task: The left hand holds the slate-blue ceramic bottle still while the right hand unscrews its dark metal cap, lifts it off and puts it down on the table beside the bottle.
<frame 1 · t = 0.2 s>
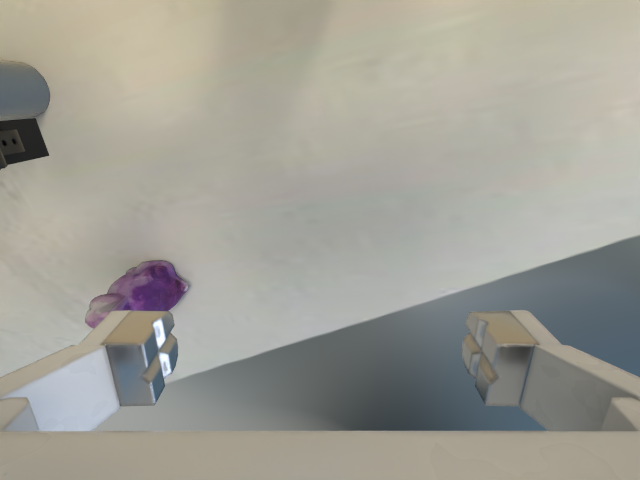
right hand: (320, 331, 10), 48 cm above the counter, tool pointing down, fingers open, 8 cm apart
figurine: (154, 282, 64), on the counter
bottle: (23, 89, 53), on the counter
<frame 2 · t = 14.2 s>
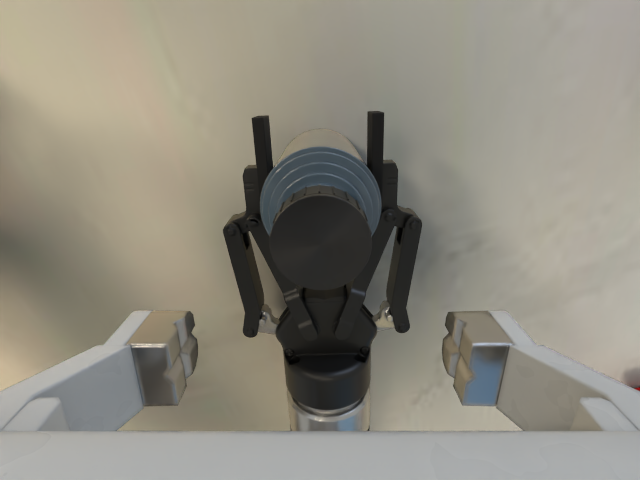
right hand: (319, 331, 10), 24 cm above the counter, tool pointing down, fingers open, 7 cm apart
left hand: (317, 114, 26), fingers closed on bottle, 7 cm apart
bottle: (320, 170, 33), on the counter, touching left hand
cap: (320, 242, 17), point 18 cm above the counter, screwed on, not yet turned
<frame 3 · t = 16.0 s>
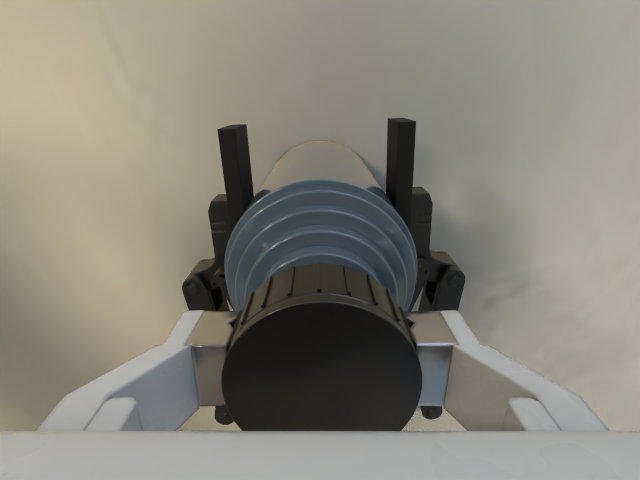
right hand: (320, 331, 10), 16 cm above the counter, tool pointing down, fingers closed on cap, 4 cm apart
bottle: (320, 194, 25), on the counter, touching left hand
cap: (321, 380, 9), point 18 cm above the counter, screwed on, not yet turned, touching right hand
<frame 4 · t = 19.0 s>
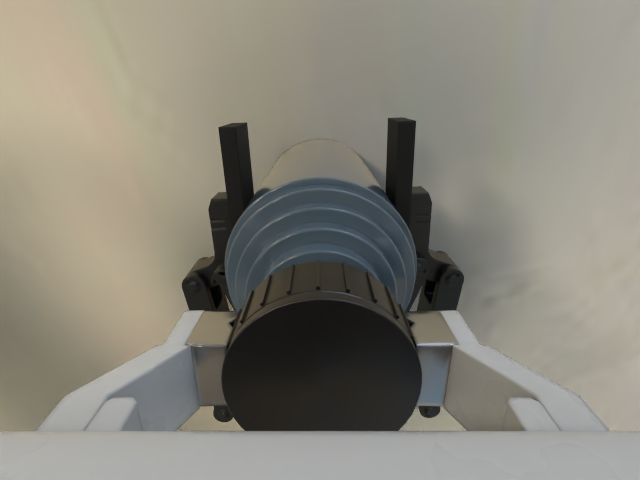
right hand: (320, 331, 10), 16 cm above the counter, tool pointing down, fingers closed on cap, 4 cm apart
bottle: (320, 193, 25), on the counter, touching left hand
cap: (321, 377, 9), point 18 cm above the counter, turned 83° so far, risen 0.1 cm, still on its thread, touching right hand
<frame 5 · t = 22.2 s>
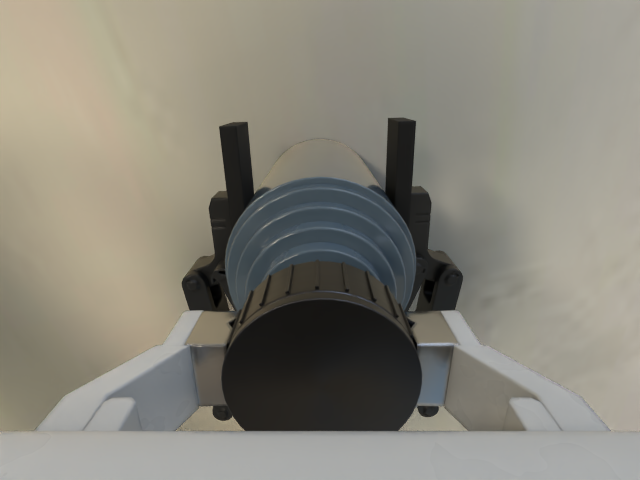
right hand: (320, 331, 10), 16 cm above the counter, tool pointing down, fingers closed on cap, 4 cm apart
bottle: (319, 192, 25), on the counter, touching left hand
cap: (321, 377, 9), point 18 cm above the counter, turned 166° so far, risen 0.1 cm, still on its thread, touching right hand
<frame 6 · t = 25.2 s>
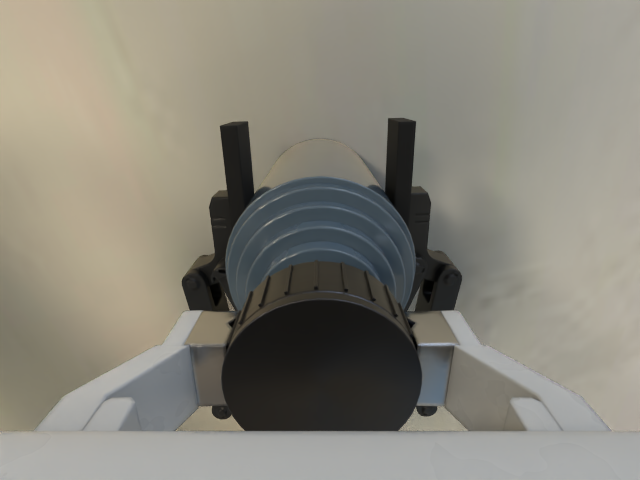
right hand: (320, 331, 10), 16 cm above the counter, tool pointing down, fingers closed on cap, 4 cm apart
bottle: (319, 192, 25), on the counter, touching left hand
cap: (321, 377, 9), point 18 cm above the counter, turned 248° so far, risen 0.2 cm, still on its thread, touching right hand
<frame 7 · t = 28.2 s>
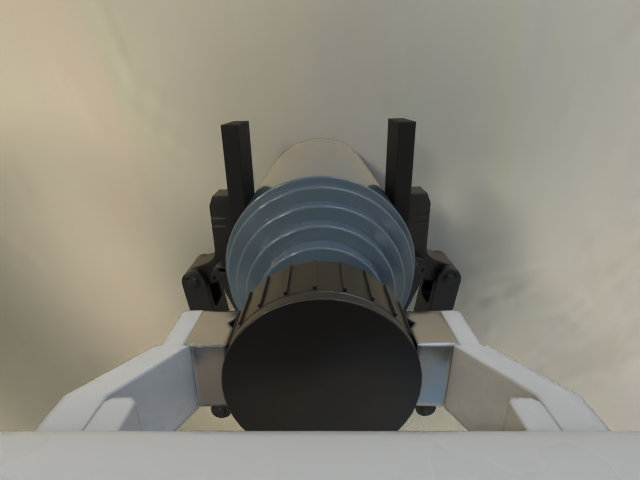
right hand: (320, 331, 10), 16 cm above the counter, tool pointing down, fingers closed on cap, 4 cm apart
bottle: (319, 192, 25), on the counter, touching left hand
cap: (321, 377, 9), point 18 cm above the counter, turned 331° so far, risen 0.3 cm, still on its thread, touching right hand
when the right hand's fingers open (2 cm above the counter, at t = 35.9 s): cap drops 2 cm, point 2 cm above the counter.
when the left hand's fingers open (6 cm above the counter, at t = 37.0 s): bottle stays where it is, on the counter.
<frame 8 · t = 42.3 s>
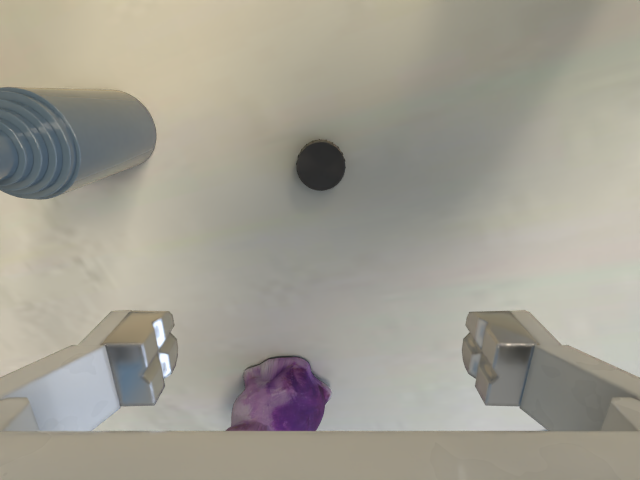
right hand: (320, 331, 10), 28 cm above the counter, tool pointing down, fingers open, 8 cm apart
figurine: (280, 382, 46), on the counter
bottle: (118, 130, 36), on the counter
cap: (320, 166, 35), point 2 cm above the counter, off its thread
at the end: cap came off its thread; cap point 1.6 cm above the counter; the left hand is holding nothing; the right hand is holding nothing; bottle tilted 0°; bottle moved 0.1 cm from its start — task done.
